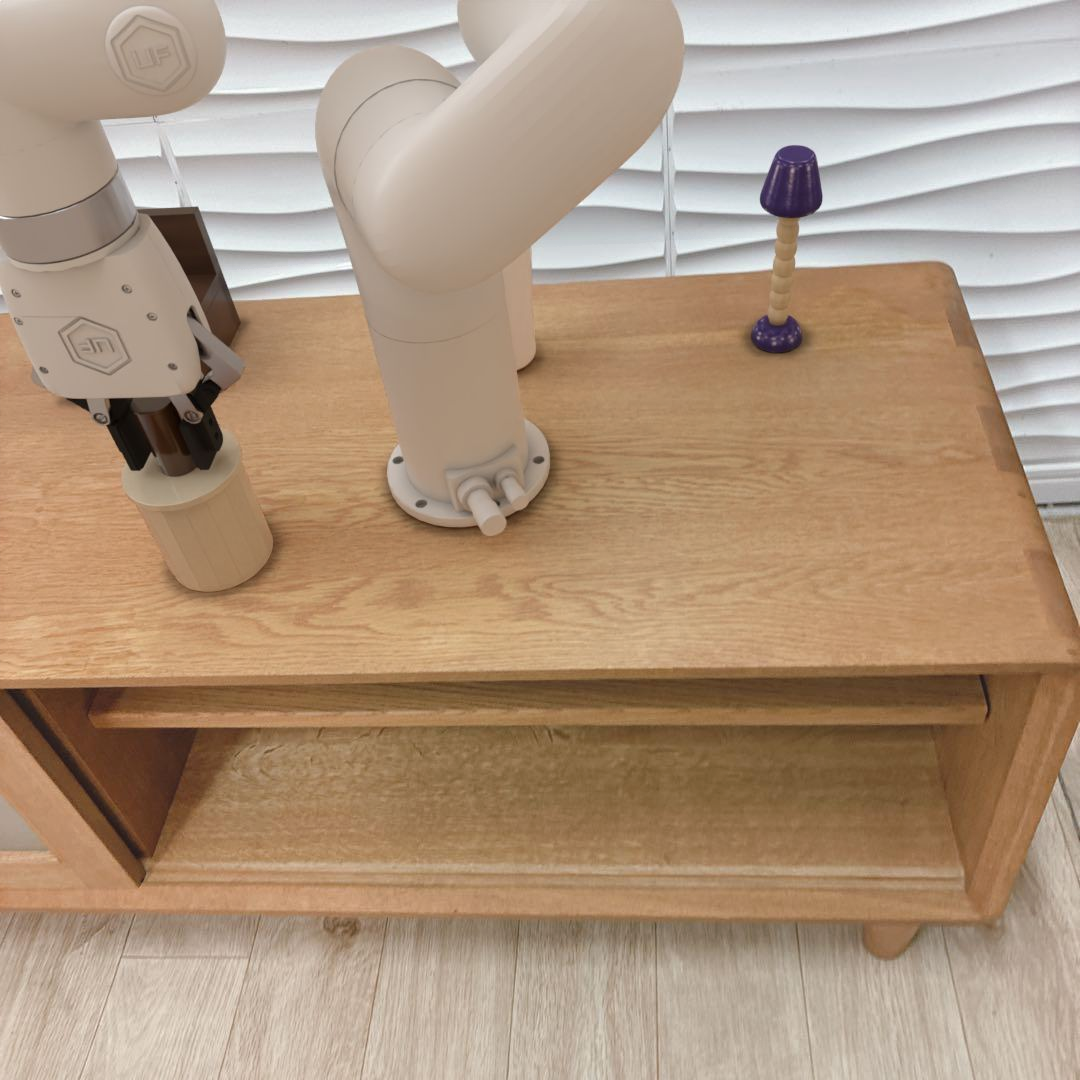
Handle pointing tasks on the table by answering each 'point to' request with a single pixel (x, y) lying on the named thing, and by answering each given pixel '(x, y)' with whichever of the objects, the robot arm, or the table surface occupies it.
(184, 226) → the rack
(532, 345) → the drinking glass
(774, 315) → the toy lamp
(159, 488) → the lid
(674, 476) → the table surface
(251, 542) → the pot
